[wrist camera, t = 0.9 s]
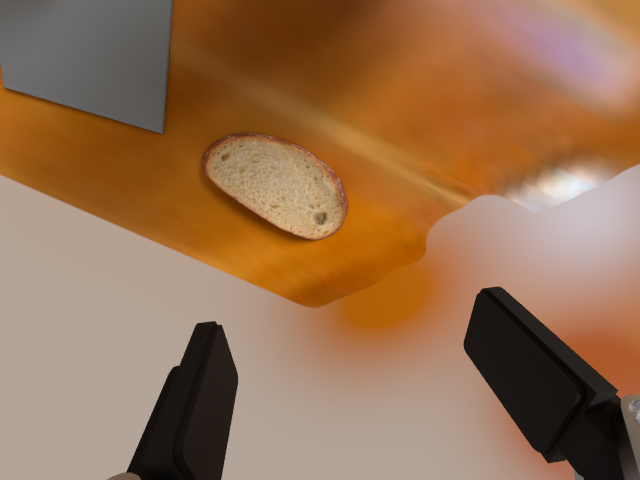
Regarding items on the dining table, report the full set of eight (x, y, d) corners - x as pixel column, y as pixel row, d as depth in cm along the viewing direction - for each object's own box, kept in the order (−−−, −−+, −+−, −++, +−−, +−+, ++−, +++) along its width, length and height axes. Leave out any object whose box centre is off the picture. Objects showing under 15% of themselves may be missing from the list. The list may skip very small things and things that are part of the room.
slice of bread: (193, 146, 35) (183, 150, 32) (324, 105, 35) (328, 106, 32) (246, 257, 44) (243, 269, 40) (352, 225, 43) (357, 235, 40)
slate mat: (-30, -179, 22) (-38, -186, 21) (178, -80, 26) (176, -83, 25) (8, 87, 30) (3, 87, 29) (163, 133, 34) (161, 133, 33)
